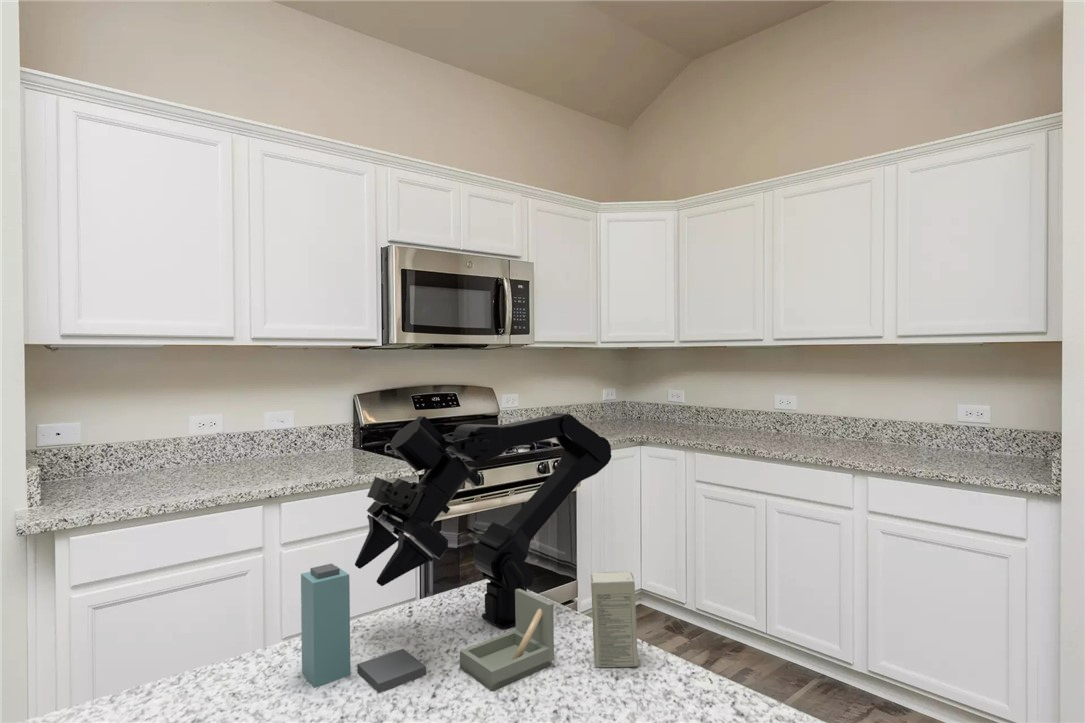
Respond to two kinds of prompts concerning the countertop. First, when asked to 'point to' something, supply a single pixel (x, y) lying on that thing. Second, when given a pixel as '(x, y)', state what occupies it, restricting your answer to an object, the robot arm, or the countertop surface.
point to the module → (325, 624)
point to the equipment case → (514, 645)
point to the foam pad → (391, 670)
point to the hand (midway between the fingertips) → (367, 575)
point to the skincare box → (614, 619)
